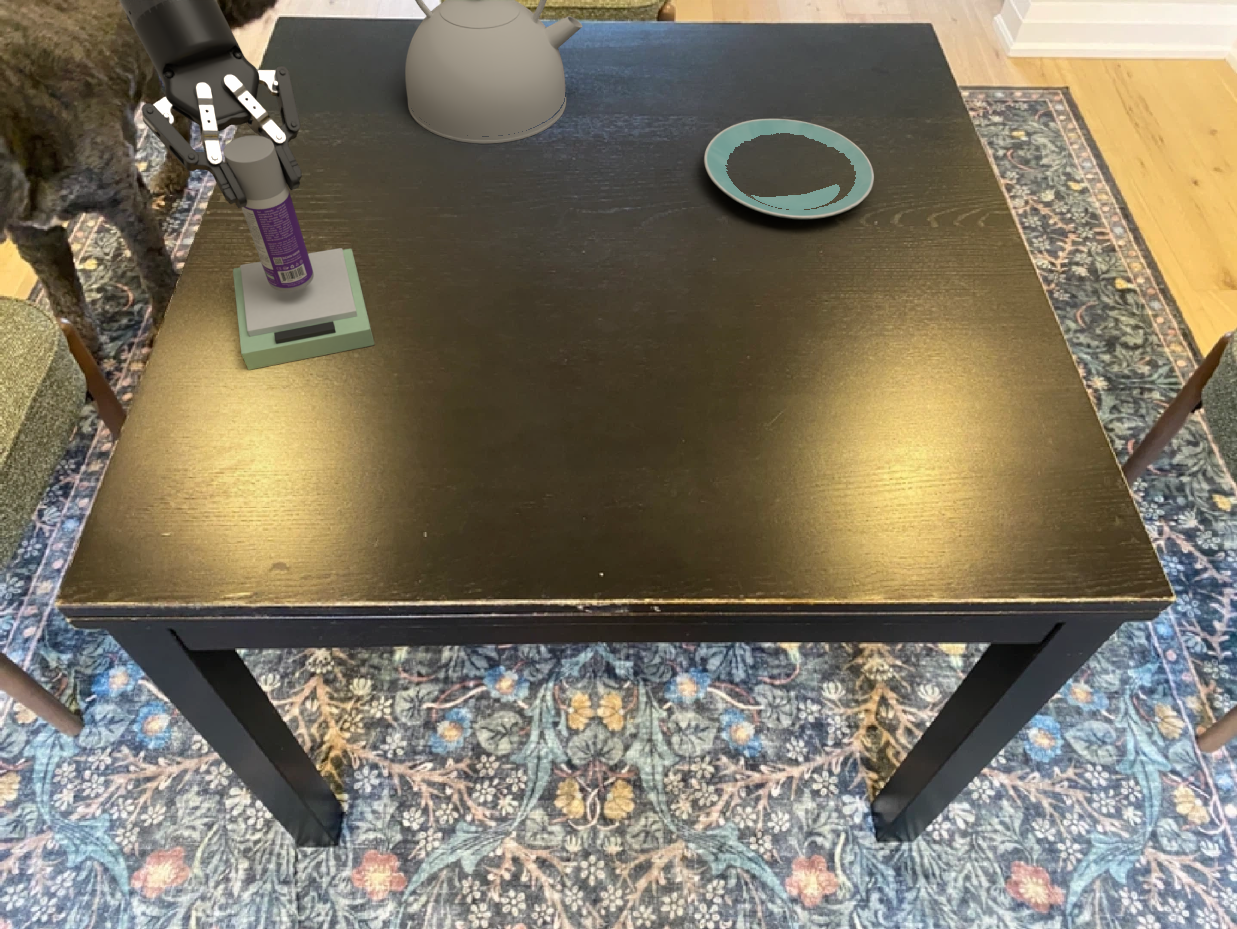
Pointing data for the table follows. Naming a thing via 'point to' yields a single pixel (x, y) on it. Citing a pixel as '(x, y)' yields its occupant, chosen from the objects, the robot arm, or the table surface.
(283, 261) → the container
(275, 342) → the scale
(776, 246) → the table surface
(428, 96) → the kettle
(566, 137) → the table surface
